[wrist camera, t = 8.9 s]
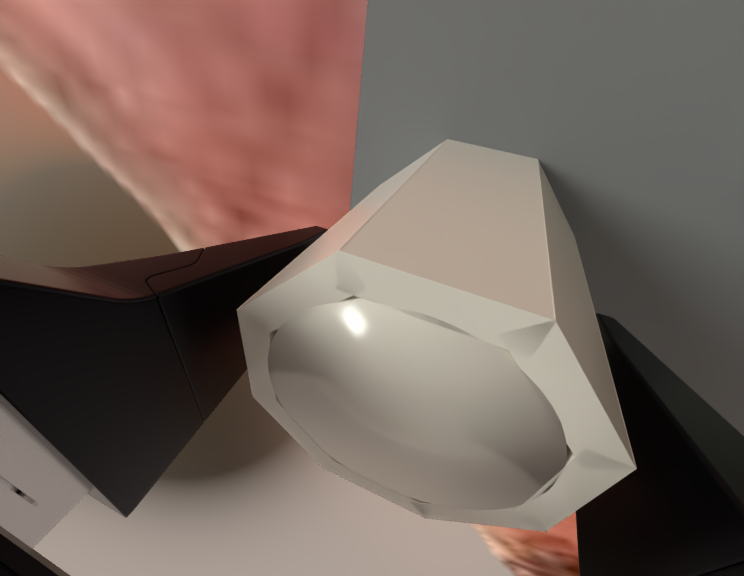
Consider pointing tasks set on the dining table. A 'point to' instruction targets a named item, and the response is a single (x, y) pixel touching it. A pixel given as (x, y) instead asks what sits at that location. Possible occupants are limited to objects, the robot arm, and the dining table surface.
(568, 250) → the cream cup
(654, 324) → the mat
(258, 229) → the dining table surface
